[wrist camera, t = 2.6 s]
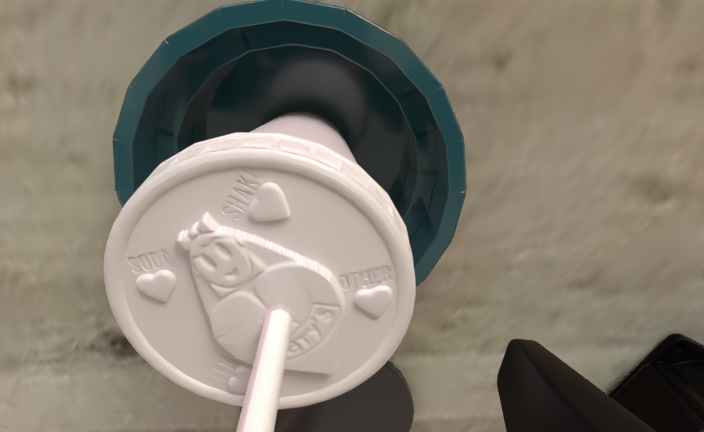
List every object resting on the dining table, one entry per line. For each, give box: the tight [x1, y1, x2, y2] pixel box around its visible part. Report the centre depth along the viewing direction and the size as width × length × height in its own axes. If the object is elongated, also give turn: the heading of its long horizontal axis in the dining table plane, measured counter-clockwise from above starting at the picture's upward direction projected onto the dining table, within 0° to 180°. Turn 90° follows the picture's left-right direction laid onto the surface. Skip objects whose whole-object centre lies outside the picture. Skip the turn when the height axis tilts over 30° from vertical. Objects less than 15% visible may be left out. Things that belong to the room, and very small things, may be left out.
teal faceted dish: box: [113, 0, 467, 286], centre depth 16 cm, size 11×11×4 cm
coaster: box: [240, 361, 414, 432], centre depth 24 cm, size 9×9×1 cm
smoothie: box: [104, 111, 416, 432], centre depth 11 cm, size 6×6×14 cm
